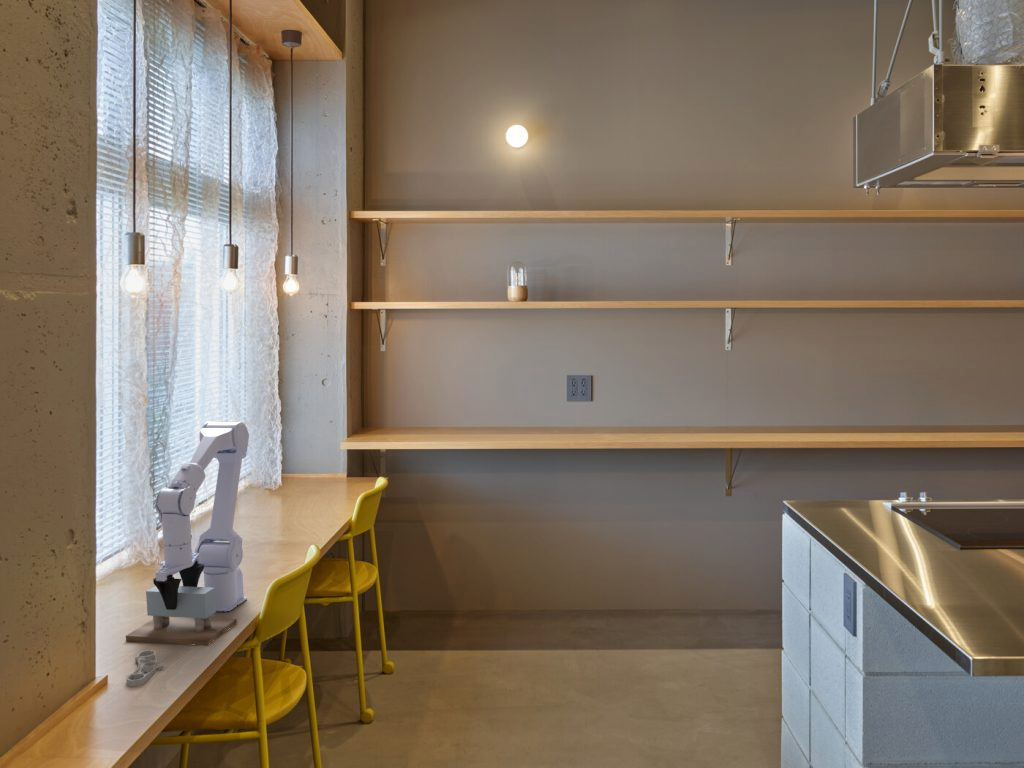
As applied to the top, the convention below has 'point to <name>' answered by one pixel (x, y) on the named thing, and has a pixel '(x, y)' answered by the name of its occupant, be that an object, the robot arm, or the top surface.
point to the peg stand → (181, 630)
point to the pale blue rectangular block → (183, 603)
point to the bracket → (144, 668)
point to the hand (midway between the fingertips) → (181, 603)
